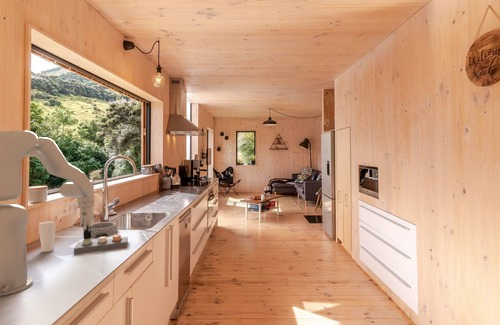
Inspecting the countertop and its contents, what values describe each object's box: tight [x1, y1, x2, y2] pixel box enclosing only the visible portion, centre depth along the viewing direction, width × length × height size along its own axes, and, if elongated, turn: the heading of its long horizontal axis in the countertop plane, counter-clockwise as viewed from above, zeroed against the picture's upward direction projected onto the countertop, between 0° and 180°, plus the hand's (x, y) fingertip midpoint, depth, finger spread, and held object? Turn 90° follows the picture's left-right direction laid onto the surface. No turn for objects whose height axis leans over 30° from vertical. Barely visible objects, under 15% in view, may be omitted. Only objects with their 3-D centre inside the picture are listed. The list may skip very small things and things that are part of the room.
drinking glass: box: [38, 220, 56, 253], centre depth 138 cm, size 7×7×15 cm
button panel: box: [73, 236, 129, 255], centre depth 142 cm, size 10×24×3 cm, turn 112°
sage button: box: [82, 238, 93, 246], centre depth 139 cm, size 4×4×3 cm
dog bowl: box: [90, 221, 119, 239], centre depth 169 cm, size 17×18×5 cm
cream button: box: [97, 236, 108, 244], centre depth 142 cm, size 4×4×3 cm
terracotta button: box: [112, 234, 122, 242], centre depth 144 cm, size 4×4×3 cm
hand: (87, 238), depth 139 cm, fingers closed
